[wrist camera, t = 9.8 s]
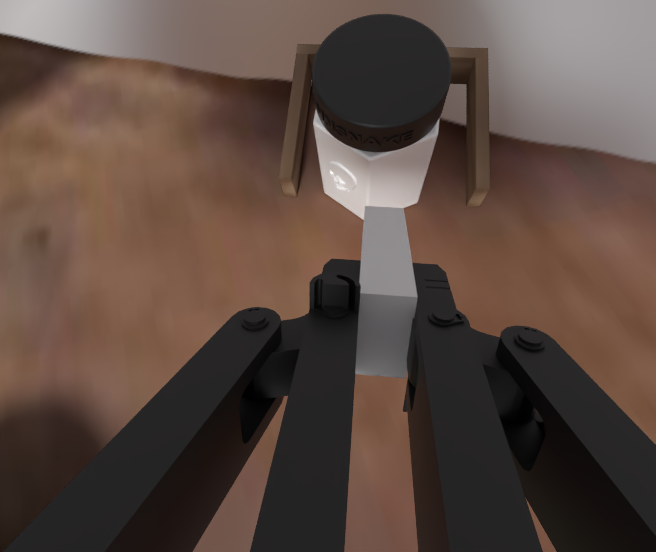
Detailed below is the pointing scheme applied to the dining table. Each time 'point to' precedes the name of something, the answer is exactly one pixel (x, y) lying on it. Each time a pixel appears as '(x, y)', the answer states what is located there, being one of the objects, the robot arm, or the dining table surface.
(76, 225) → the dining table surface
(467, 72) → the box
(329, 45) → the jar
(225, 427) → the robot arm
